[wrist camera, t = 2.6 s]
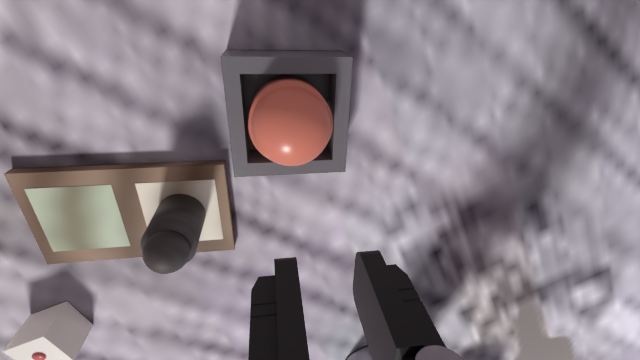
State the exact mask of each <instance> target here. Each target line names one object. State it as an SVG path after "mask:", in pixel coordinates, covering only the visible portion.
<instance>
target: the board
mask: <svg viewBox="0 0 640 360" xmlns="http://www.w3.org/2000/svg"><path fill="white" fill-rule="evenodd" d="M4 175H5V177H6V179H7V181H8V183H9V185H10V188H11V190H12V192H13V194H14V196H15V198H16V200H17V202H18V204H19V206H20V208H21V210H22V212H23V214H24V216H25V218H26V220H27V223H28V225H29V227H30V229H31V231H32V233H33V235H34V237H35V239H36V241H37V243H38V245H39V247H40V249H41V251H42V253H43V255H44V257H45V260H46V262H47V264H56V263H69V262H82V261H94V260H107V259H120V258H132V257H143V255H142V249H141V244H140V243H141V238H142V236H143V234H144V232H145V231H146V229H147V227H148V225H149V223H150V221H151V219H152V217H153V215H154V213H155V212H156V210H157V208H158V206H159V204H160V202H161V201H162V200H163V199H164V198H166V197H168V196H170V195H173V194H186V195H190V196H192V197H194V198H196V199H197V200H199V201H200V202H201V203H202V205H203V206H204V208H205V212H206V217H205V221H204V224H203V228H202V232H201V235H200V239H199V242H198V246H197V250H196V252H208V251H221V250H233V249H235V237H234V229H233V221H232V213H231V205H230V197H229V189H228V181H227V173H226V165H225V160H217V161H192V162H167V163H143V164H118V165H94V166H69V167H44V168H20V169H11V170H9V171H8V172H6V173H5V174H4Z"/></svg>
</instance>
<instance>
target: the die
mask: <svg viewBox="0 0 640 360" xmlns="http://www.w3.org/2000/svg"><path fill="white" fill-rule="evenodd" d="M92 326H93V324H92V323H91V322H89V321H88V320H87V319H86V318H85V317H84V316H83V315H82V314H81V313H79V312H78V311H77V310H76V309H75V308H74V307H73V306H72V305H71V304H69V303H68V302H67V301H66V302H63V303H61V304H58V305H55V306H52V307H50V308H47V309H44V310H42V311H39V312H36V313H34V314H31V315H30V316H29V317H28V319H27V320H26V321H25V322H24V324H23V325H22V326H21V328H20V329H19V330H18V332H17V333H16V334H15V336H14V337H13V338H12V340H11V341H10V342H9V344H8V345H7V346H6V348H5V349H4V350H3V352H4V353H5V354H7V355H8V356H10V357H11V358H12V359H14V360H75V358H76V356H77V354H78V352H79V350H80V349H81V347H82V345H83V343H84V341H85V339H86V337H87V336H88V334H89V332H90V330H91V328H92Z"/></svg>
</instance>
